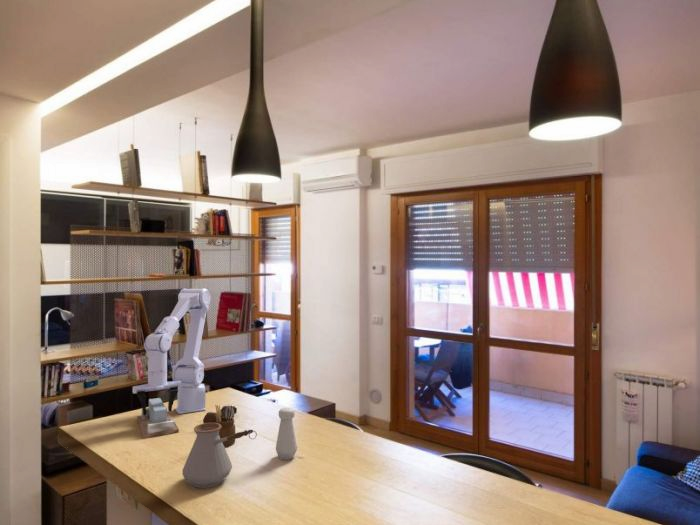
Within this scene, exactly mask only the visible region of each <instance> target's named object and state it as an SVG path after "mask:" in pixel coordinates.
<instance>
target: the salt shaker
mask: <svg viewBox="0 0 700 525" xmlns="http://www.w3.org/2000/svg"><path fill="white" fill-rule="evenodd" d="M278 417H279V419H280V421H279V426H278V432H277V439H276V444H275V452H276V454H277V456H278V458H279V459H280V460H281V459H285V460H284V461H289V460H291V459H294V456H295V455H296V453H297V451H298V443H297V438H296V434H295V426H294V421H293V419H294V418H295V410H294V409H293V408H292V407H283V408H280V409H279V411H278ZM288 459H289V460H288Z"/></svg>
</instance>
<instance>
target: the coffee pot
mask: <svg viewBox="0 0 700 525" xmlns="http://www.w3.org/2000/svg"><path fill="white" fill-rule="evenodd" d="M221 427H222V426H221V425H220V424H218V423H200V424H197V425H196V426H194V427H193V430H194V433H195V434H196V437H195V440H194V442H193V445H192V446H191V449H190V452H189V454H188V455H187V458H186V461H185V463H184V465H183V468H182V476H183V479H185V480H186V482H188V483H189V484H190V485H191V486H193V487H196V488H200V489H201V488H211V487H214V486H217V484H218V485H219V484H221V483H222V482H224V480H225V479H227V477H229V474H230V472H231V471H232V468H233V464H232V461H231V459H230V456H229V455H228V453H227V451H226V448H225V447H224V445H223V443H222V442H224V441H227V440H232V439H235V440H236V439H240V438H243V437H246V436H248V438H249V439H251V440H255V439H256V438H257V432H256V430H254V429H245V430H243V431H239V432H235V434H233V435H230V436H228V437H225V438H222V439H221V438H220V436H219V430H220V429H221ZM253 433H255V437H254V438H251V436H250V435H251V434H253Z"/></svg>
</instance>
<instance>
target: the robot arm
mask: <svg viewBox="0 0 700 525" xmlns="http://www.w3.org/2000/svg"><path fill="white" fill-rule="evenodd" d="M179 291H180V292H179V293H178V295H177V300H178V301H177V303H176V304H175V306H174V308H173V310H172V312H171V313H170V315H169V316H165V317H164V318H163V319H162V321H161V322H160V324H159V325H158V326H157V328H156V329H155V330H154V332H153V333H151V334H149V335H148V336H146V338H145V340H144V343H143V349H145V352H146V357H147V383H144V384H140V385H134V386H132V394H135V395H137V398H138V400H139V402H140V405H141V410H142V409H143V415H146V408H147V403H146V402H147V395H146V392H154V391H161V390H168V403H167V411H168V412H169V413H170V412H172V411H173V410H172V409H173V405H174V402H175V399H176V398H177V402H176V403H177V405H176V406H175V407H174V410H175V411H176V412H177V414H178V415H181V414H186V413H194V412H200V411H206V386H205V383H202V382H203V381H204V377H205V372H204V368H205V364H204V363H203V362H202V361H201V359H199V356H200V350H201V345H202V340H203V339H202V338H203V333H204V327H205V323H206V317H207V313H209V309H210V303H211V299H212V297H211V294H210V292H209V290H208V289H207V288H184V287H183V288H182V289H181V290H179ZM187 312H188V313H189V314H190V315H191V316H190V320H189V325H188V326H189V327H188V331H187V336H186V341H185V345H184V346H185V347H184V352H183V357H181V358H180V359H179V360H178V361H176V364H175V367H174V368H173V371H172V373H171V374H172V375H171V376H172V377H171V378H172V381H168V351H169V350H170V349H171V348H172V347H171V346H172V341H173V337H174V335H175V334H176V332H177V331H178V329H179V328H180V322H179V321H180V320H181V319H182V318H183V317H184V316H185V314H186V313H187Z"/></svg>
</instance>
